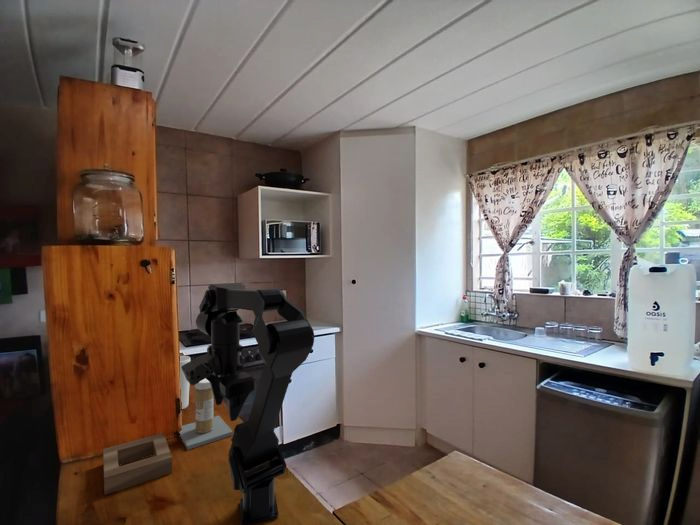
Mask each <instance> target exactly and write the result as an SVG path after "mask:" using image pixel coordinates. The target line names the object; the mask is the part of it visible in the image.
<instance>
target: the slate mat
mask: <svg viewBox="0 0 700 525" xmlns="http://www.w3.org/2000/svg"><path fill="white" fill-rule="evenodd" d="M181 426H182V430H181V431H180V432H179V433H180V436H179V438H180V437H181V438H180V440H181V439H182V440H181V442H182V443H183V445H184V447H185V449H186V450H187V451H189V450H192V448H193V449H195V448H198V447H201V445H202V446H204V445H208V444H210V443H213V442H217V441H219V440H223V439H226V438H228V437H231V436H232V437H233V434H234V430H232V428H230V426H229V425H228V424H227V423H226V422H225V421H224V420H223V418H222V417H221V416H220V415H215V416H213V426H214V427H213V429H212V430H211V431H209V432H207V433H197V432H196V431H195V428H196V421H195V422H191V423H187V424H183V425H181Z"/></svg>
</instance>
